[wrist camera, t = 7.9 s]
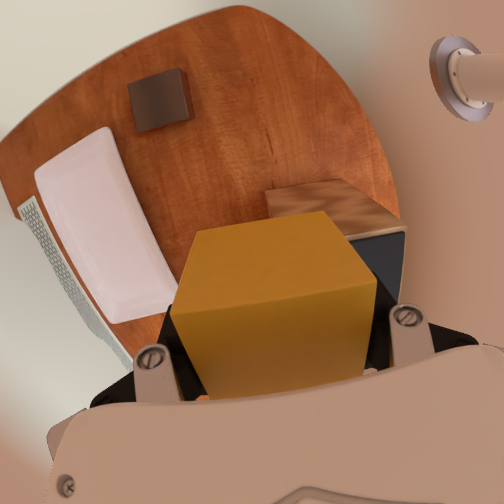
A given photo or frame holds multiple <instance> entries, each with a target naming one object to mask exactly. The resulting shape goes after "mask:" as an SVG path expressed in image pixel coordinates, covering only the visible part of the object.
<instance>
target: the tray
mask: <svg viewBox="0 0 504 504" xmlns="http://www.w3.org/2000/svg"><path fill="white" fill-rule="evenodd" d="M34 176H35V180H36V184H37V187H38V190H39V193H40V195H41V198H42V200H43V203H44V205H45V207H46V210H47V212H48V214H49V217H50V219H51V221H52V223H53V225H54V227H55V229H56V232H57V234H58V236H59V238H60V240H61V242H62V244H63V246H64V248H65V249H66V251H67V253H68V255H69V257H70V259H71V261H72V263H73V264H74V266H75V268H76V270H77V271H78V273H79V275H80V277H81V278H82V280H83V282H84V283H85V285H86V287H87V288H88V290H89V291H90V293H91V295H92V296H93V298H94V299H95V301H96V303H97V304H98V306H99V307H100V309H101V310H102V312H103V313H104V315H105V316H106V318H107V319H108V321H109V322H110V323H112V324H117V323H121V322H125V321H129V320H134V319H138V318H142V317H146V316H150V315H154V314H158V313H162V312H167V309H168V306H169V305H170V304H173V301H174V297H175V294H176V291H177V288H178V284H177V282H176V280H175V278H174V276H173V274H172V272H171V270H170V268H169V266H168V264H167V262H166V260H165V258H164V256H163V254H162V252H161V250H160V248H159V246H158V243H157V241H156V239H155V237H154V235H153V233H152V230H151V228H150V226H149V224H148V222H147V220H146V217H145V215H144V213H143V210H142V208H141V206H140V204H139V202H138V199H137V197H136V195H135V192H134V190H133V187H132V185H131V183H130V180H129V178H128V175H127V173H126V170H125V168H124V165H123V162H122V160H121V157H120V154H119V151H118V148H117V146H116V143H115V140H114V137H113V134H112V131H111V129H110V128H109V127H103V128H100V129H99V130H97V131H95V132H93V133H91V134H90V135H88V136H87V137H85V138H83V139H82V140H80V141H79V142H77V143H75V144H74V145H72V146H71V147H69V148H68V149H66V150H64V151H63V152H61V153H60V154H58V155H57V156H55V157H54V158H52V159H51V160H49V161H47V162H46V163H45V164H43V165H42V166H40V167H39V168H38V169H37V170H36V171H35V172H34Z"/></svg>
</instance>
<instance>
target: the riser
mask: <svg viewBox="0 0 504 504" xmlns="http://www.w3.org/2000/svg"><path fill="white" fill-rule="evenodd" d="M264 192H265V198H266V203H267V209H268V215H269V219H271V218H277V217H284V216H290V215H296V214H303V213H309V212H316V211H324V212H325V213H326V214H327V215H328V216H329V218H330V219H331V220H332V221H333V223H334V224H335V225H336V226H337V228H338V229H339V230H340V231H341V233H342V234H343V235H344V236H345V238H346V239H347V240H348V241H352V240H358V239H363V238H368V237H373V236H379V235H384V234H389V233H394V232H399V231H404V232H405V246H404V258H403V267H402V276H401V284H400V291H399V298H398V304H399V299H400V293H401V286H402V278H403V270H404V261H405V250H406V237H407V224H405V223H404V222H403V221H401V220H400V219H399V218H397V217H396V216H395V215H393V214H392V213H391V212H389V211H388V210H387V209H385V208H384V207H382V206H381V205H380V204H378V203H377V202H376V201H374V200H373V199H371V198H370V197H368V196H367V195H365V194H364V193H363V192H361V191H360V190H358V189H357V188H355V187H354V186H352V185H351V184H349V183H348V182H346V181H345V180H343V179H335V180H328V181H321V182H314V183H308V184H301V185H295V186H289V187H283V188H277V189H271V190H266V191H264Z"/></svg>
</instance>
